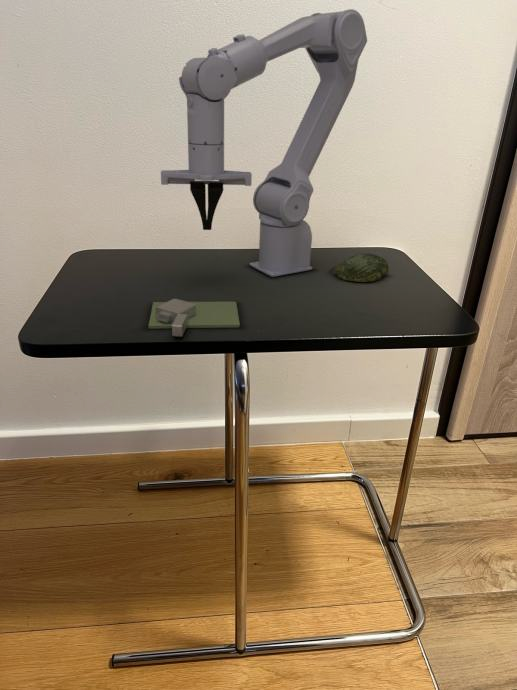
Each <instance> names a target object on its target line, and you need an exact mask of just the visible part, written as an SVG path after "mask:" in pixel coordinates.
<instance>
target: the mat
mask: <svg viewBox="0 0 517 690" xmlns="http://www.w3.org/2000/svg"><path fill="white" fill-rule="evenodd" d="M166 302H167V301H153V302H152V305H151V312H150V317H149V322H148V329H150V330H151V329H156V330H157V329H159V330H160V329H172V324H173V323H171V322H168V323H167V322H163V321H159V320H158V319H157V318H156V311H155V308H156V307H158V306H160V305H162V304H164V303H166ZM189 302H190V303H194V304H196V314H195V315H193V316H192V317H190V318H188V319H187V320H188V325H187V328H186V329H225V328H226V329H227V328H228V329H229V328H230V329H231V328H233V329H235V328H237V329H239V328H240V327H241V323H240V316H239V311H238V304H237V301H189Z"/></svg>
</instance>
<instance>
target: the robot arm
mask: <svg viewBox="0 0 517 690" xmlns="http://www.w3.org/2000/svg"><path fill="white" fill-rule="evenodd" d="M232 40H233V42H231V43H229V44H227V45H225V46H223V47H220V48H219V49H218V48H217V47H212V48H210V49H208V51H207V53H208V54H207V56H206V57H193V58H191V59H189V60H188V61H187V62H186V63H185V66H183V67H182V70H181V76H179V77H178V83H179V86H180V89H181V91H182V92H183V94H184V95H185V98H186V116H187V117H186V119H187V120H186V121H187V156H188V159H187V160H188V161H187V162H188V169H174V170H172V169H171V170H169V169H167V170H164V169H163V170H160V185H161V186H163V185H165V186H166V185H167V186H168V185H189V188H190V189H189V190H190V193H191V195H192V197H193V199H194V202H195V204H196V206H197V210H198V212H199V215H200V219H201V222H202V224H201V225H202V230H203V231H212V228H213V227H212V226H213V220H214V216H215V213H216V210H217V206H218V203H219V201H220V199H221V198H222V195H223V192H224V186H225V185H226V186H245V187H252V179H253V177H252V176H253V174H252V172H251V171H238V170H226V169H225V99H226V98H227V97H228V96H229V95H230V93H231V91H232V89H233V90H234V89H235V88H238V87H239V86H241V85H243V84H245V83H247V82H249V81H251V80H254V79H255V78H257V77H259V76H261V75H262V74H264V72H265V71H266V68H267V64H268V62H271V61H272V60H273V61H274V60H275V59H278V58H279V57H281V56H284V55H286V54H289V53H291V52H294V51H296V50H298V49H305V51H306V53H307V54H308V57H309V59H310V60H311V63H312V64H313V67H314V69H315V71H316V73H318V75H319V82H318V85H317V86H316V89H315V91H314V94H313V95H312V98H311V99H310V102H309V103H308V106H307V108H306V110H305V112H304V114H303V117H302V119H301V120H300V123H299V125H298V127H297V129H296V131H295V134H294V135H293V137H292V140H291V142H290V144H289V146H288V148H287V151H286V153H285V155H284V156H283V159H282V160H281V163H280V164H279V165H277V166H275V167H274V168H272V169H271V170H269V171H268V173H267V174H266V177H265V179H264V180H263V181H262V182H261V183H259V184H258V185H257V187H256V188H255V190H254V193H253V196H252V203H253V207H254V209H255V211H256V212H257V213H258V219H259V242H258V243H259V244H258V245H259V246H258V247H259V248H258V261H253V262H249V266H250V267H252V268H254V269H256V270H258V271H259V272H262V273H263V274H264V275H267V276H269V277H272V278H274V277H280V276H286V275H289V274H290V275H291V274H296V273H303V272H307V271H311V270H313V267H312V266H311V257H312V256H311V254H312V243H313V242H312V241H313V234H312V229H311V226H310V224H309V223H308V222H307V221H306V220H304V219H306V216H307V215H308V212H309V208H310V200H311V197H312V194H313V193H314V191H315V189H314V187H313V185H312V182H311V179H310V175H311V174H312V171H313V170H314V167H315V165H316V163H317V161H318V159H319V157H320V155H321V153H322V150H323V149H324V146H325V145H326V143H327V140H328V138H329V137H330V134H331V133H332V130H333V128H334V126H335V124H336V122H337V120H338V117H339V116H340V113H341V112H342V109H343V107H344V105H345V103H346V101H347V98H348V97H349V95H350V93H351V91H352V89H353V86H354V84H355V80H356V76H357V75H356V74H357V70H358V65H359V59H360V58H361V56H362V53H363V52H364V49H365V47H366V45H367V43H368V36H367V30H366V25H365V20H364V18H363V16H362V14H361V13H360V12H359V11H357V10H356V9H353V8H350V9H345V10H343V11H334V12H325V13H324V12H323V13H321V12H315V13H312V14H311V15H307V16H302V17H299V18H298V19H296V20H294V21H292V22H290V23H288V24H287V25H285V26H282V27H280V28H279V29H277V30H276V31H274V32H272V33H270V34H268V35H266V36H264V37H263V38H261V39H258V38H256V37H254V36H252V35H246V36H245V34H238V35H237V34H236V35H235V36H233V37H232ZM206 185H207V187H206ZM206 188H207V189H206ZM206 190H207V192H206ZM206 194H207V195H206ZM206 196H207V197H206Z"/></svg>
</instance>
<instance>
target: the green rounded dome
mask: <svg viewBox="0 0 517 690" xmlns="http://www.w3.org/2000/svg"><path fill="white" fill-rule="evenodd" d="M332 273H333V274H334V276H335V277H337V278H338V279H340V280H343V281H349V282H356V283H372V282H376V281H379V280H381V279H382V277H387V275H388V273H389V263H388V261H387V260H386V259H385V258H384V257H382V256H380V255H377V254H373V253H359V254H356V255H352V256H350V257H348V258H346V259H344V260H343V261H342V262H340V263H339V264H338V265H337V266H336V267H335V268H334V269H333V272H332Z"/></svg>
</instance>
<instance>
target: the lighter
mask: <svg viewBox="0 0 517 690" xmlns="http://www.w3.org/2000/svg"><path fill="white" fill-rule="evenodd" d="M165 302H166V303H164V304H162V305H160V306H158V307H156V308H155V311H156V318H157V319H158V320H159V321H163V322H167V323H168V322H171V323H173V324H172V328H171V332H172V333H171V335H172V337H179V338H183V336H184V335H185V332H186V330H187V329H188V328H187V325H188V320H187V319H188V318H190V317H192V316H193V315H195V314H196V304H194V303H190V302H191V301H187V300H183V299H180V298H179V299H178V298H172V299H171V300H168V301H165Z"/></svg>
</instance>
